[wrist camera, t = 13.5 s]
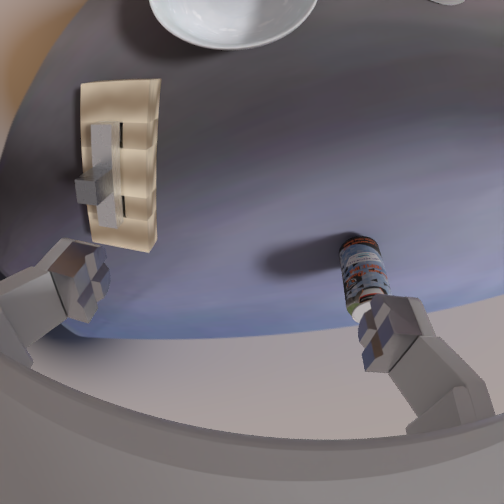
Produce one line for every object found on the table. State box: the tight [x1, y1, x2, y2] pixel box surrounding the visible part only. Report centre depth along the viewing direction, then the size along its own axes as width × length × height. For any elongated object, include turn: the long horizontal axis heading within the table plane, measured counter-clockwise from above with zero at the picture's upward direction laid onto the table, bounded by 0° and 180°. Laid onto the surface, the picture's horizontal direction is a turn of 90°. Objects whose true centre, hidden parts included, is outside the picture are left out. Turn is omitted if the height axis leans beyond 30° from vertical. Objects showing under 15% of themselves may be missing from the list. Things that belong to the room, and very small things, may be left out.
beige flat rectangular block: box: [80, 79, 161, 253], centre depth 35 cm, size 24×10×4 cm, turn 171°
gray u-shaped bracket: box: [75, 121, 125, 229], centre depth 32 cm, size 14×3×10 cm, turn 172°
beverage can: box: [339, 236, 392, 323], centre depth 37 cm, size 6×7×12 cm
